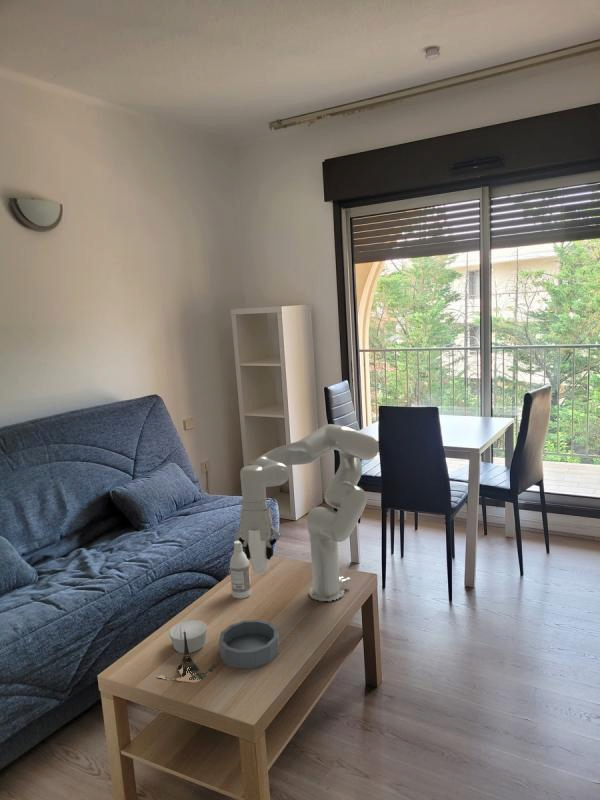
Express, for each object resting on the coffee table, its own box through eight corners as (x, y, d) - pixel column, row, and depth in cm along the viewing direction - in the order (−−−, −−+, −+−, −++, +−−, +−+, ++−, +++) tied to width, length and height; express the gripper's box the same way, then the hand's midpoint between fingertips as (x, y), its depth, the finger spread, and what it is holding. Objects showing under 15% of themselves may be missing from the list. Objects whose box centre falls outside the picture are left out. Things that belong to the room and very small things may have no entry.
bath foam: (252, 597, 207) (248, 544, 204) (233, 600, 205) (229, 546, 202) (250, 588, 213) (246, 537, 210) (231, 591, 212) (227, 539, 209)
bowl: (262, 628, 186) (261, 614, 185) (289, 654, 171) (288, 638, 170) (212, 647, 177) (210, 631, 176) (235, 675, 162) (234, 659, 161)
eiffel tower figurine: (154, 680, 163) (150, 636, 161) (171, 659, 173) (167, 617, 171) (203, 686, 159) (199, 641, 157) (218, 664, 169) (214, 622, 167)
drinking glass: (268, 575, 184) (264, 530, 182) (247, 575, 185) (243, 530, 183) (273, 566, 191) (269, 522, 188) (253, 565, 192) (249, 522, 190)
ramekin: (163, 647, 179) (162, 631, 178) (193, 631, 187) (191, 616, 186) (185, 660, 171) (184, 643, 170) (215, 643, 179) (213, 627, 178)
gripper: (225, 507, 183) (230, 561, 186) (277, 508, 179) (281, 563, 182) (233, 500, 190) (238, 551, 193) (284, 500, 186) (288, 553, 189)
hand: (259, 556), depth 187 cm, fingers closed on drinking glass, 6 cm apart
